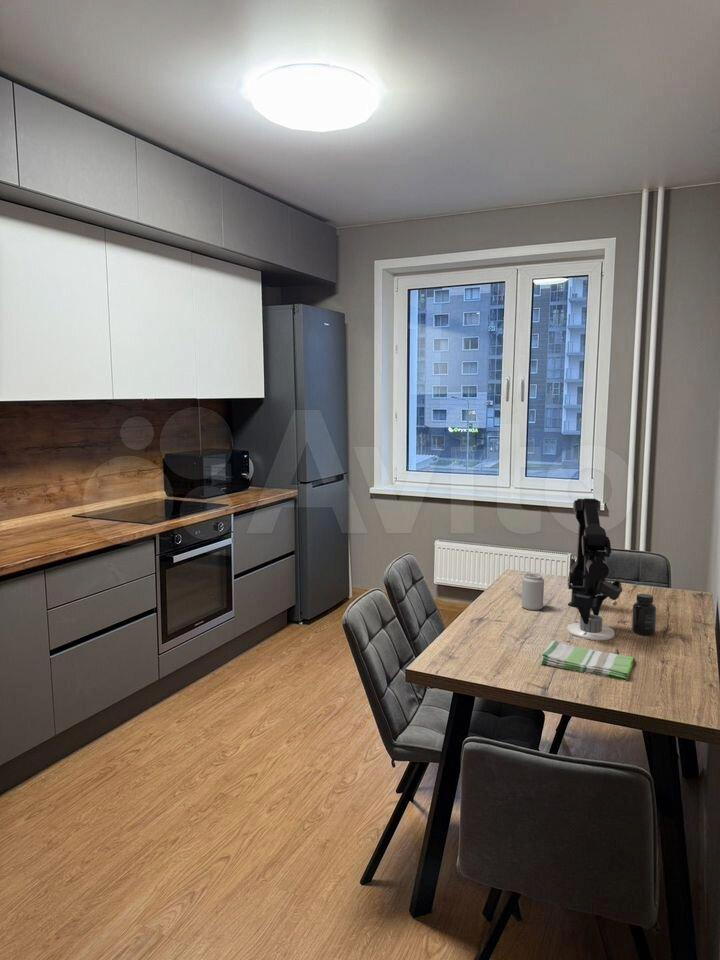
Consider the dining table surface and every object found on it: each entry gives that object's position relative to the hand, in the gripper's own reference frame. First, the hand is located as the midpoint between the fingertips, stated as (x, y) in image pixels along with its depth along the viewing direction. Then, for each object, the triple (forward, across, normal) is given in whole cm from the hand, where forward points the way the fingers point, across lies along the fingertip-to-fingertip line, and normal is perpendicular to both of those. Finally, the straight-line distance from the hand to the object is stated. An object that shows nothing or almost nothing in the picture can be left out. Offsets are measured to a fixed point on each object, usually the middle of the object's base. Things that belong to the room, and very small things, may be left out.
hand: (591, 620), depth 206 cm
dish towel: (+5, -25, -8) cm, 27 cm away
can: (+4, +13, +25) cm, 29 cm away
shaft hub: (+4, 0, 0) cm, 4 cm away
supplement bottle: (+4, +11, -13) cm, 18 cm away
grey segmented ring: (+3, 0, 0) cm, 3 cm away
